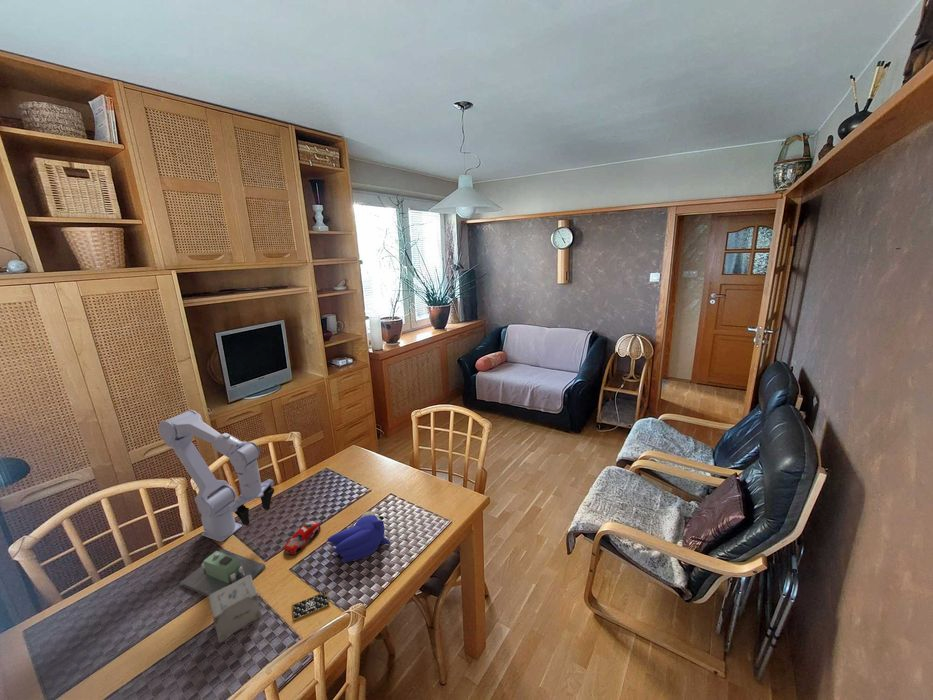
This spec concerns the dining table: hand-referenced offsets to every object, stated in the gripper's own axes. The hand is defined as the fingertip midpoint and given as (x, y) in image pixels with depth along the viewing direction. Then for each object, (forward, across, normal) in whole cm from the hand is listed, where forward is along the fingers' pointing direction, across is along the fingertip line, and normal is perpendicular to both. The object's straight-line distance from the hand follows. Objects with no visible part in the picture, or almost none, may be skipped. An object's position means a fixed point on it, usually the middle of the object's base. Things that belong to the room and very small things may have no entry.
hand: (256, 516), depth 120 cm
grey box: (+10, -23, -19) cm, 31 cm away
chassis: (+9, -14, -2) cm, 17 cm away
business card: (+10, -13, -33) cm, 37 cm away
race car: (+10, +5, -13) cm, 17 cm away
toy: (+10, +10, -34) cm, 37 cm away
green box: (+8, -14, -2) cm, 17 cm away
